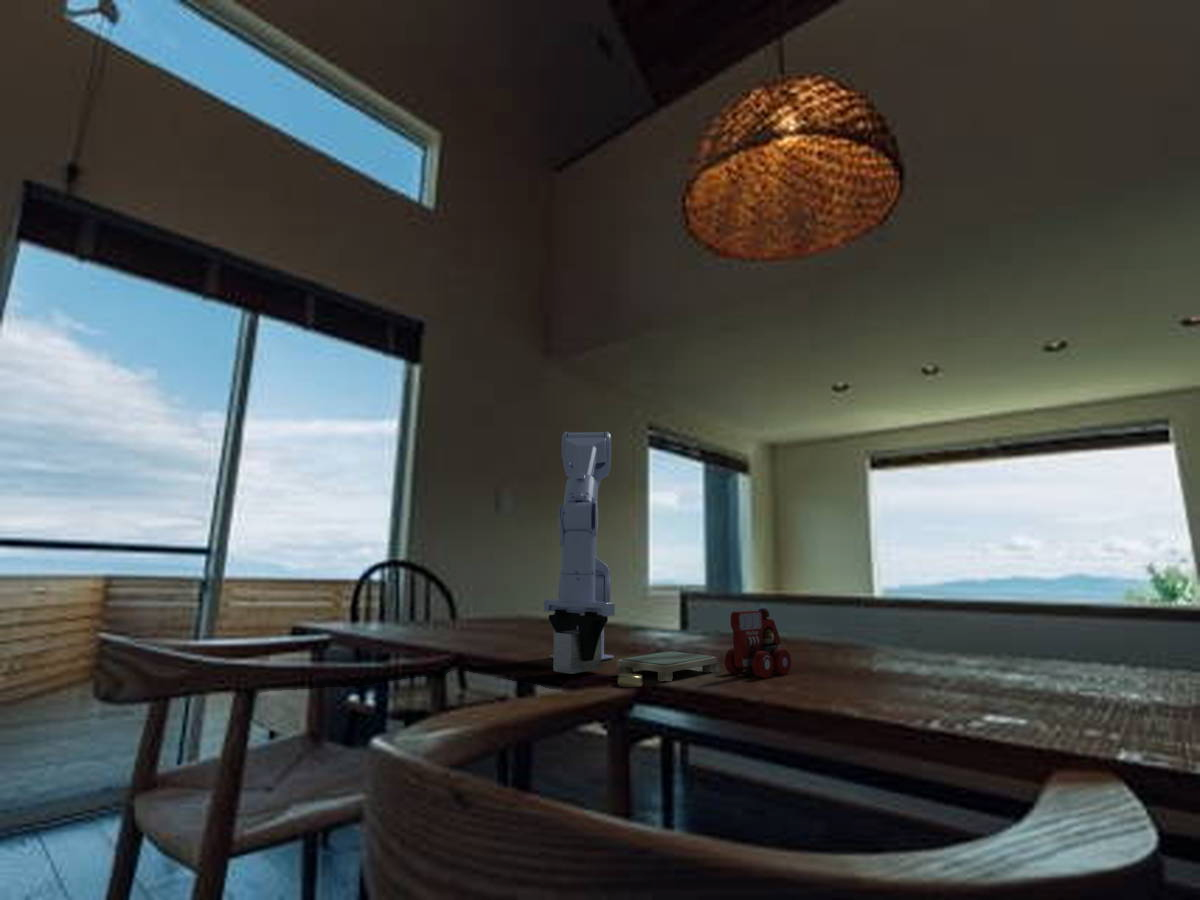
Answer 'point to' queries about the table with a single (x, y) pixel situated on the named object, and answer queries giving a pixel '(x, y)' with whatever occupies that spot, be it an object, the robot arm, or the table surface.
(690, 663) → the stand
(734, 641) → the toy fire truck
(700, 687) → the table surface
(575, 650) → the housing
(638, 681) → the brass nut
